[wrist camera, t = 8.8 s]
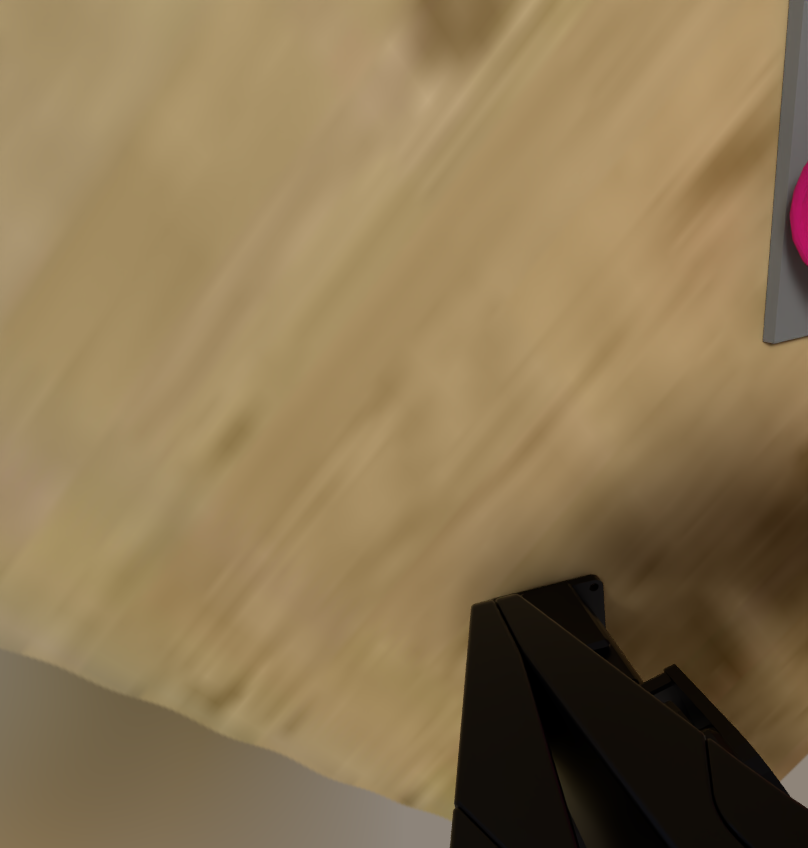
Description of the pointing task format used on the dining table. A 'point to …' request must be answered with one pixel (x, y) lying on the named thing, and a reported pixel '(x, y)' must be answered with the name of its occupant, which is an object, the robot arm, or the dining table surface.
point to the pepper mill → (800, 215)
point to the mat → (789, 191)
